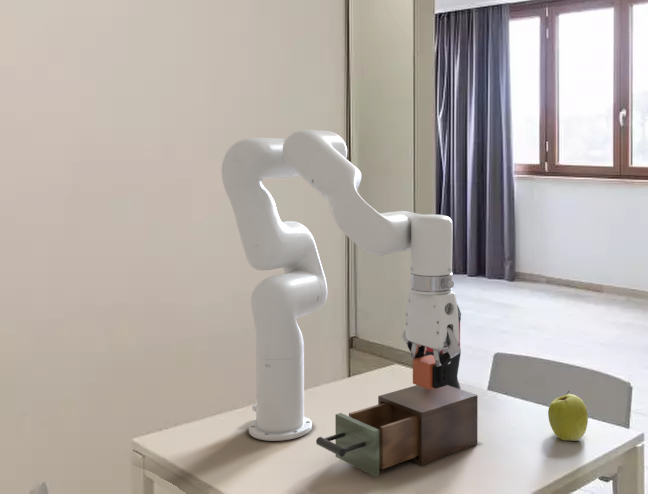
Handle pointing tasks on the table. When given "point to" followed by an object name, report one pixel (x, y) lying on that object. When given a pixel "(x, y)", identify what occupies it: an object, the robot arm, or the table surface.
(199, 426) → the table surface
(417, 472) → the table surface
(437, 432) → the cabinet
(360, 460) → the drawer
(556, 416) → the apple
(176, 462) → the table surface
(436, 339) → the robot arm
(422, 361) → the block
